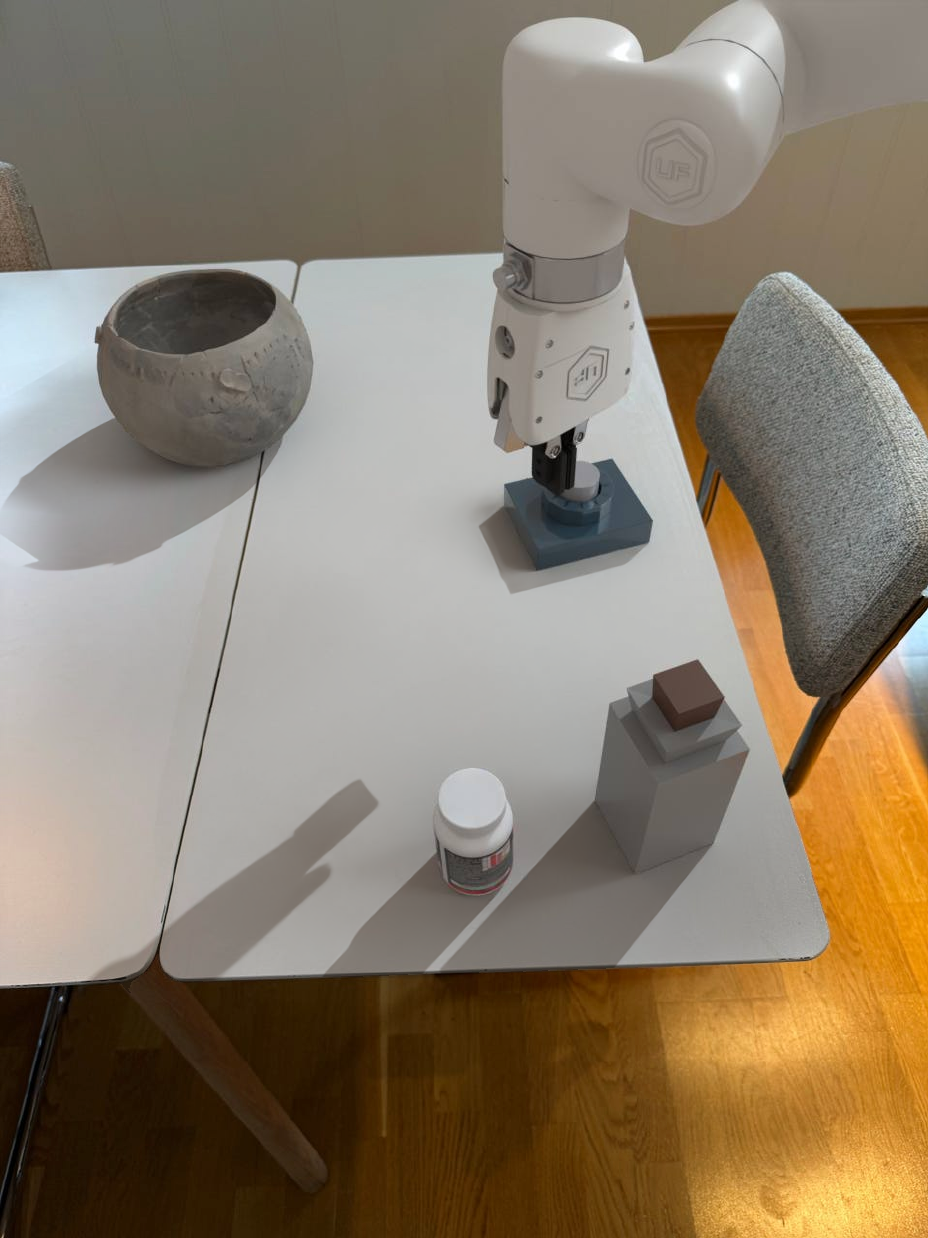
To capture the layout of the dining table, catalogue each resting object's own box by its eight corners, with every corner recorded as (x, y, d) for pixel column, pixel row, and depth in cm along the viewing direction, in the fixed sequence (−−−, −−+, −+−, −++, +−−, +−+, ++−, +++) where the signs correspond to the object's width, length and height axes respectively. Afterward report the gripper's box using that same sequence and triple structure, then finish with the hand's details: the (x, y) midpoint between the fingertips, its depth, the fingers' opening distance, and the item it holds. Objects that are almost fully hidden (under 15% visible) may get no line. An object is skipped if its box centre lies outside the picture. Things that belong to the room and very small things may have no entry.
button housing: (609, 479, 96) (614, 442, 92) (649, 542, 90) (656, 505, 86) (503, 505, 94) (503, 468, 90) (537, 571, 88) (538, 534, 84)
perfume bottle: (594, 800, 72) (615, 662, 58) (669, 772, 73) (707, 631, 59) (634, 874, 67) (668, 745, 54) (713, 843, 69) (765, 709, 55)
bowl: (364, 408, 106) (347, 290, 94) (222, 518, 94) (183, 399, 83) (228, 346, 115) (198, 232, 104) (84, 439, 104) (32, 323, 92)
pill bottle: (528, 864, 68) (531, 799, 61) (473, 914, 66) (469, 853, 58) (477, 814, 71) (474, 747, 64) (423, 860, 69) (412, 796, 61)
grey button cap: (588, 472, 90) (590, 456, 89) (604, 498, 88) (606, 482, 86) (551, 481, 89) (552, 465, 88) (566, 507, 87) (567, 491, 85)
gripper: (511, 327, 51) (510, 554, 65) (691, 239, 57) (655, 465, 71) (431, 277, 55) (447, 501, 69) (607, 199, 61) (589, 420, 75)
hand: (552, 482), depth 70 cm, fingers closed
